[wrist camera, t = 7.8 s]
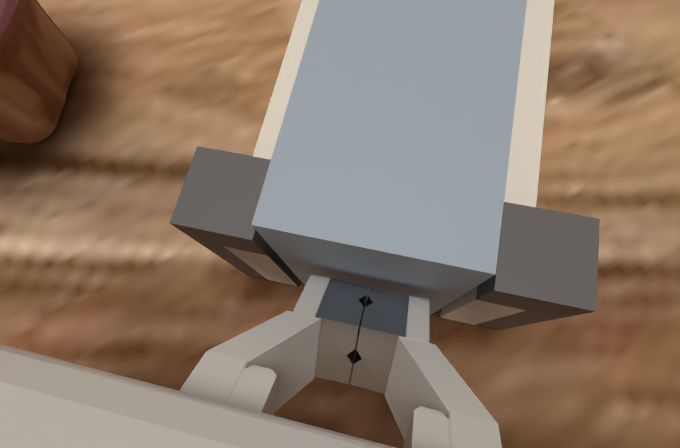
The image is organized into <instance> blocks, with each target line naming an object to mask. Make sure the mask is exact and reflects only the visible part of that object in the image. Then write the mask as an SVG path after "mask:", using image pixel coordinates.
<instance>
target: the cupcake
mask: <svg viewBox="0 0 680 448" xmlns="http://www.w3.org/2000/svg"><path fill="white" fill-rule="evenodd" d="M77 62H78V59H77V56H76V53H75V51H74V49H73V47H72V45H71V44H70V42H69V41H68V39H67V38H66V37H65V35H64V34H63V33H62V32H61V31H60V29H59V28H58V27H57V26H56V24H55V23H54V22H53V21H52V20H51V18H50V17H49V16H48V15H47V13H46V12H45V11H44V9H43V8H42V7H41V5H40V4H39V3H38V1H37V0H0V140H1V141H4V142H11V143H27V144H34V143H37V142H40V141H42V140H44V139H45V138H47V137H48V136H50V135H51V134H52V133H53V132H54V130H55V128H56V126H57V124H58V121H59V117H60V114H61V110H62V108H63V106H64V104H65V101H66V95H67V91H68V88H69V85H70V83H71V81H72V79H73V77H74V75H75V72H76V69H77Z"/></svg>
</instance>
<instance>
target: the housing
mask: <svg viewBox="0 0 680 448" xmlns="http://www.w3.org/2000/svg"><path fill="white" fill-rule="evenodd" d="M318 3H319V0H302V3H301V6H300V9H299V12H298V15H297V18H296V21H295V25H294V28H293V31H292V34H291V37H290V40H289V44H288V47H287V50H286V53H285V56H284V59H283V62H282V66H281V69H280V72H279V75H278V78H277V81H276V84H275V88H274V91H273V94H272V97H271V100H270V103H269V106H268V110H267V113H266V116H265V119H264V122H263V125H262V128H261V132H260V135H259V138H258V141H257V144H256V147H255V150H254V154H253V156H248V155H242V154H237V153H231V152H226V151H220V150H215V149H209V148H203V147H198V146H197V149H196V152H195V154H194V157H193V160H192V163H191V165H190V168H189V171H188V174H187V176H186V179H185V182H184V185H183V187H182V190H181V193H180V196H179V198H178V201H177V204H176V207H175V209H174V212H173V215H172V218H171V220H170V224H172V225H173V226H175V227H176V228H178V229H179V230H181V231H182V232H184V233H185V234H187V235H188V236H190V237H191V238H193V239H194V240H196V241H197V242H199V243H200V244H202V245H203V246H205V247H206V248H208V249H209V250H211V251H212V252H214V253H215V254H217V255H218V256H220V257H221V258H223V259H224V260H226V261H227V262H229V263H230V264H232V265H233V266H235V267H236V268H238V269H239V270H241V271H242V272H243V273H245V274H246V275H248V276H253V277H257V278H262V279H266V280H271V281H276V282H280V283H285V284H289V285H294V286H298V285H299V282H300V279H299V278H298V277H297V276H296V275H295V274H294V273H293V272H292V270H291V269H290V268H289V267H288V266H287V265H286V264H285V262H284V261H283V260H282V259H281V258H280V257H279V256H278V255H277V253H276V252H275V251H274V250H273V249H272V248H271V247H270V246H269V244H268V243H267V242H266V241H265V240H264V239H263V238H262V236H261V235H260V234H259V233H258V232H257V231H256V230H255V229H254V227H253V226H252V225H251V224H252V221H253V217H254V214H255V211H256V207H257V204H258V201H259V198H260V194H261V191H262V188H263V184H264V181H265V178H266V174H267V171H268V168H269V165H270V161H271V158H272V155H273V151H274V148H275V145H276V141H277V138H278V135H279V131H280V128H281V125H282V122H283V118H284V115H285V112H286V108H287V105H288V102H289V98H290V95H291V92H292V89H293V85H294V82H295V79H296V75H297V72H298V69H299V65H300V62H301V59H302V55H303V52H304V49H305V46H306V42H307V39H308V36H309V32H310V29H311V26H312V22H313V19H314V16H315V13H316V9H317V6H318ZM553 11H554V0H527V4H526V13H525V22H524V31H523V39H522V48H521V57H520V66H519V74H518V83H517V92H516V101H515V109H514V118H513V127H512V136H511V144H510V153H509V162H508V171H507V180H506V188H505V197H504V206H503V215H502V223H501V232H500V241H499V250H498V258H497V267H496V275H494V276H492V277H491V278H489V279H488V280H486V281H484V282H483V283H481V284H479V285H478V286H476V287H475V288H473V289H471V290H470V291H468V292H466V293H465V294H463V295H462V296H460V297H458V298H457V299H455V300H454V301H452V302H450V303H449V304H447V305H445V306H444V307H442V308H441V314H440V318H444V319H449V320H453V321H458V322H463V323H467V324H472V325H476V326H481V327H485V328H490V329H494V330H500V329H505V328H510V327H516V326H521V325H526V324H532V323H537V322H542V321H548V320H553V319H558V318H564V317H569V316H574V315H580V314H585V313H590V312H596V296H597V271H598V246H599V221H600V219H597V218H591V217H586V216H580V215H575V214H569V213H563V212H558V211H552V210H547V209H541V208H536V201H537V190H538V179H539V168H540V157H541V145H542V134H543V123H544V112H545V101H546V89H547V78H548V67H549V56H550V44H551V33H552V22H553Z"/></svg>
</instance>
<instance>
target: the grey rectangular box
mask: <svg viewBox="0 0 680 448" xmlns="http://www.w3.org/2000/svg"><path fill="white" fill-rule="evenodd" d="M526 4H527V0H319V3H318V6H317V9H316V13H315V16H314V19H313V22H312V26H311V29H310V32H309V36H308V39H307V42H306V46H305V49H304V52H303V55H302V59H301V62H300V65H299V69H298V72H297V75H296V79H295V82H294V85H293V89H292V92H291V95H290V98H289V102H288V105H287V108H286V112H285V115H284V118H283V122H282V125H281V128H280V131H279V135H278V138H277V141H276V145H275V148H274V151H273V155H272V158H271V161H270V165H269V168H268V171H267V174H266V178H265V181H264V184H263V188H262V191H261V194H260V198H259V201H258V204H257V207H256V211H255V214H254V217H253V221H252V224H251V225H252V226H253V227H254V229H255V230H256V231H257V232H258V233H259V234H260V235H261V236H262V238H263V239H264V240H265V241H266V242H267V243H268V244H269V246H270V247H271V248H272V249H273V250H274V251H275V252H276V253H277V255H278V256H279V257H280V258H281V259H282V260H283V261H284V262H285V264H286V265H287V266H288V267H289V268H290V269H291V270H292V272H293V273H294V274H295V275H296V276H297V277H298V278H299V279H300V281H301V282H302V283H303V284H304V285H306V283H307V281H308V279H309V277H310V276H311V275H312V274H316V275H321V276H325V277H330V278H334V279H338V280H343V281H347V282H351V283H355V284H359V285H364V286H368V287H369V288H370V287H371V288H375V289H380V290H385V291H390V292H395V293H400V294H405V295H413V296H418V297H424V298H428V299H429V300H430V315H431V314H433V313H434V312H436V311H437V310H439V309H441V308H442V307H444V306H445V305H447V304H449V303H450V302H452V301H454V300H455V299H457V298H458V297H460V296H462V295H463V294H465V293H466V292H468V291H470V290H471V289H473V288H475V287H476V286H478V285H479V284H481V283H483V282H484V281H486V280H488V279H489V278H491V277H492V276H494V275H496V267H497V258H498V250H499V241H500V232H501V223H502V215H503V206H504V197H505V188H506V180H507V171H508V162H509V153H510V144H511V136H512V127H513V118H514V109H515V101H516V92H517V83H518V74H519V66H520V57H521V48H522V39H523V31H524V22H525V13H526ZM369 288H368V292H369ZM367 297H368V294H367ZM366 302H367V300H366Z"/></svg>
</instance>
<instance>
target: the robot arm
mask: <svg viewBox="0 0 680 448" xmlns="http://www.w3.org/2000/svg"><path fill="white" fill-rule="evenodd" d="M368 288H369V287H368V286H364V285H359V284H355V283H351V282H347V281H343V280H338V279H334V278H330V277H325V276H321V275H316V274H312V275H311V276H310V277H309V279H308V281H307V283H306V285H305V287H304V289H303V291H302V293H301V295H300V297H299V299H298V302H297V304H296V306H295V308H294V310H293V312H291V311H285V312H283V313H281V314H279V315H277V316H275V317H273V318H271V319H269V320H267V321H265V322H263V323H261V324H259V325H258V326H256V327H254V328H252V329H250V330H248V331H246V332H244V333H242V334H240V335H238V336H236V337H234V338H232V339H230V340H228V341H226V342H224V343H222V344H220V345H218V346H216V347H214V348H212V349H210V350H208V351H206V352H205V354H204V355H203V357H202V358H201V360H200V361H199V363H198V364H197V365H196V367H195V368H194V370H193V371H192V373H191V374H190V376H189V377H188V379H187V380H186V381H185V383H184V384H183V386H182V387H181V389H180V390H175V389H171V388H167V387H164V386H160V385H156V384H152V383H148V382H145V381H141V380H137V379H133V378H129V377H125V376H122V375H118V374H114V373H110V372H106V371H103V370H99V369H95V368H91V367H87V366H84V365H80V364H76V363H72V362H68V361H65V360H61V359H57V358H53V357H49V356H46V355H42V354H38V353H34V352H30V351H27V350H23V349H19V348H15V347H11V346H8V345H4V344H0V448H396V447H392V446H389V445H385V444H381V443H377V442H373V441H370V440H366V439H362V438H358V437H354V436H350V435H347V434H343V433H339V432H335V431H331V430H328V429H324V428H320V427H316V426H312V425H308V424H305V423H301V422H297V421H293V420H289V419H286V418H282V417H278V416H274V413H275V411H277V410H278V409H279V408H280V407H281V406H283V405H284V404H285V403H286V402H287V401H288V400H290V399H291V398H292V397H293V396H294V395H296V394H297V393H298V392H299V391H300V390H301V389H303V388H304V387H305V386H306V385H307V384H309V383H310V382H311V381H312V380H313V379H314V377H318V378H322V379H327V380H331V381H336V382H341V383H345V384H349V381H350V376H351V372H352V377H351V383H350V385H353V386H357V387H361V388H364V389H368V390H371V391H375V392H379V393H382V394H385V398H386V400H387V403H388V405H389V407H390V409H391V412H392V414H393V416H394V418H395V421H396V423H397V425H398V427H399V430H400V432H401V434H402V436H403V439H404V441H405V442H404V445H403V448H502V445H501V439H500V432H499V426H498V423H497V422H496V421H495V420H494V418H493V417H492V416H491V414H490V413H489V412H488V411H487V409H486V408H485V407H484V406H483V404H482V403H481V402H480V400H479V399H478V398H477V397H476V395H475V394H474V393H473V391H472V390H471V389H470V388H469V386H468V385H467V384H466V383H465V381H464V380H463V379H462V377H461V376H460V375H459V374H458V372H457V371H456V370H455V369H454V367H453V366H452V365H451V363H450V362H449V361H448V360H447V358H446V357H445V356H444V355H443V353H442V352H441V351H440V349H439V348H438V347H437V346H436V345H435V344H431V343H430V300H429V299H428V298H424V297H418V296H413V295H405V294H400V293H395V292H390V291H385V290H380V289H375V288H371V287H370V288H369V292H368ZM367 294H368V297H367ZM366 300H367V302H366ZM365 305H366V307H365ZM356 350H357V351H356ZM355 353H356V356H355ZM354 359H355V360H354ZM353 364H354V365H353ZM352 368H353V371H352Z"/></svg>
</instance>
